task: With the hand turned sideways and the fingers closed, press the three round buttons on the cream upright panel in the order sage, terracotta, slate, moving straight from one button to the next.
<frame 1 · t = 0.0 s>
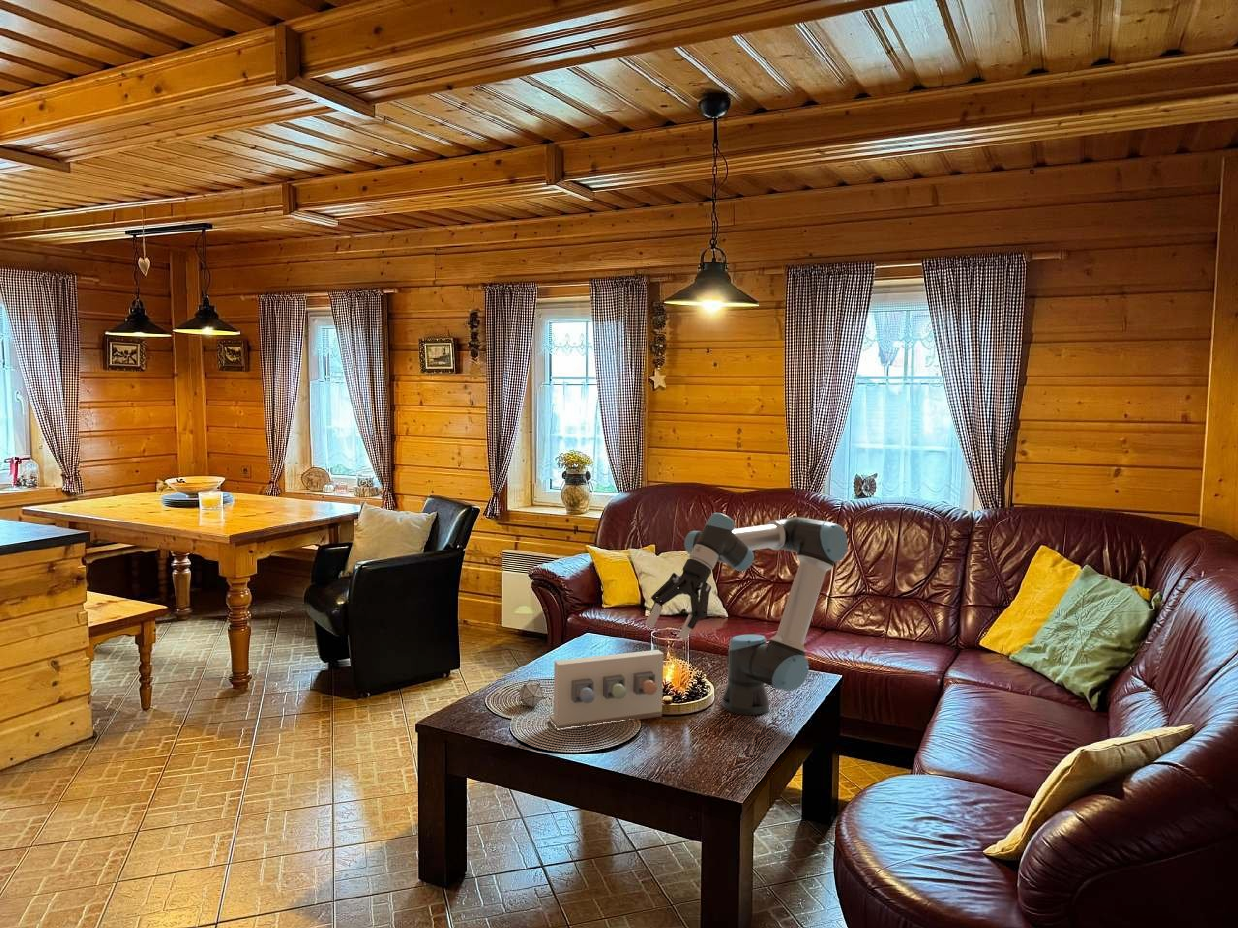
hand: (664, 632, 226), 36 cm above the table, tool tilted 35°, fingers open, 13 cm apart
slate button: (586, 695, 244), point 12 cm above the table, slide at 0.0 cm
sage button: (618, 691, 247), point 12 cm above the table, slide at 0.0 cm
button panel: (608, 720, 255), on the table
terracotta button: (649, 687, 251), point 12 cm above the table, slide at 0.0 cm
game die: (530, 706, 266), on the table
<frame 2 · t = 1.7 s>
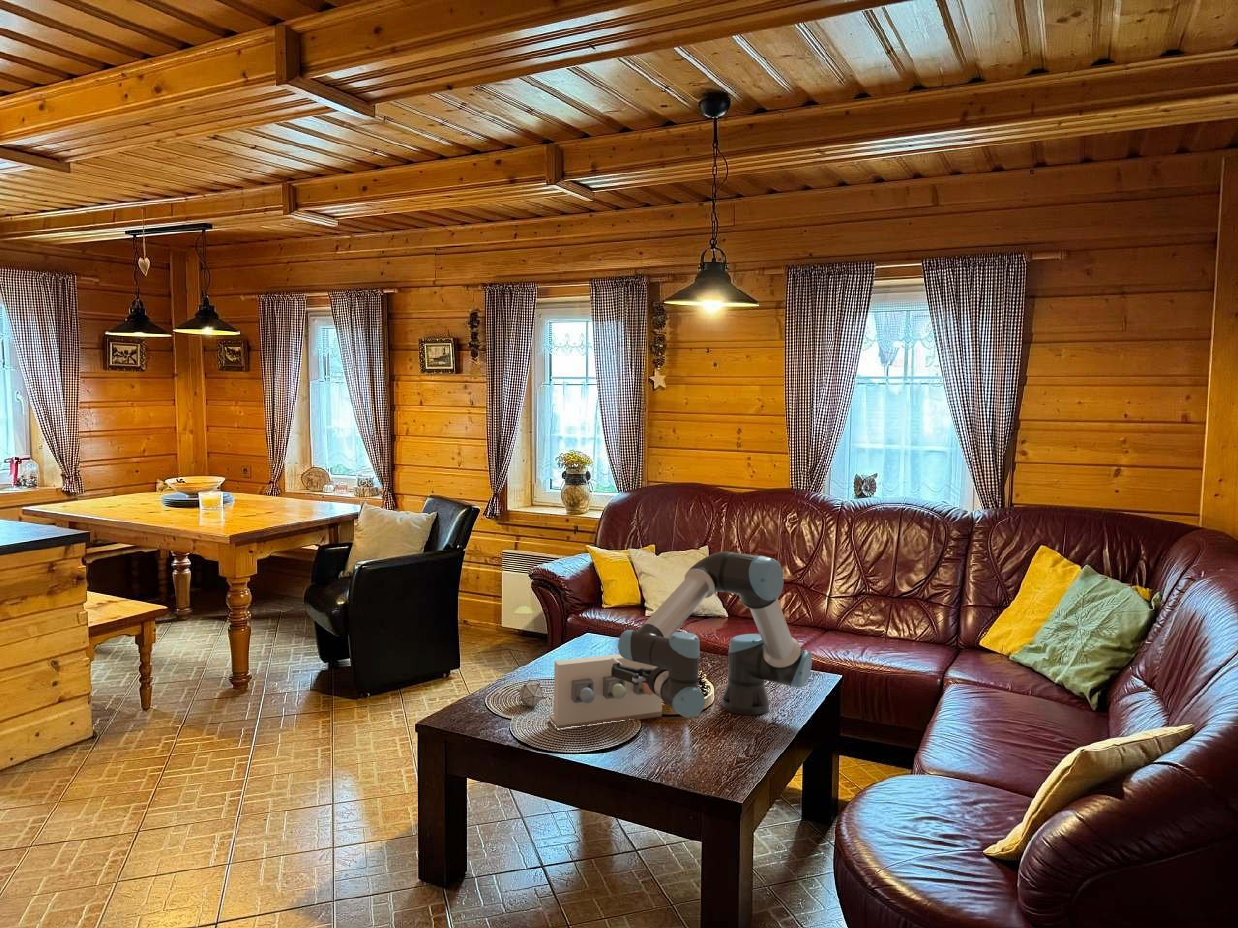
hand: (634, 660, 236), 25 cm above the table, tool horizontal, fingers open, 13 cm apart
nothing on the table moved.
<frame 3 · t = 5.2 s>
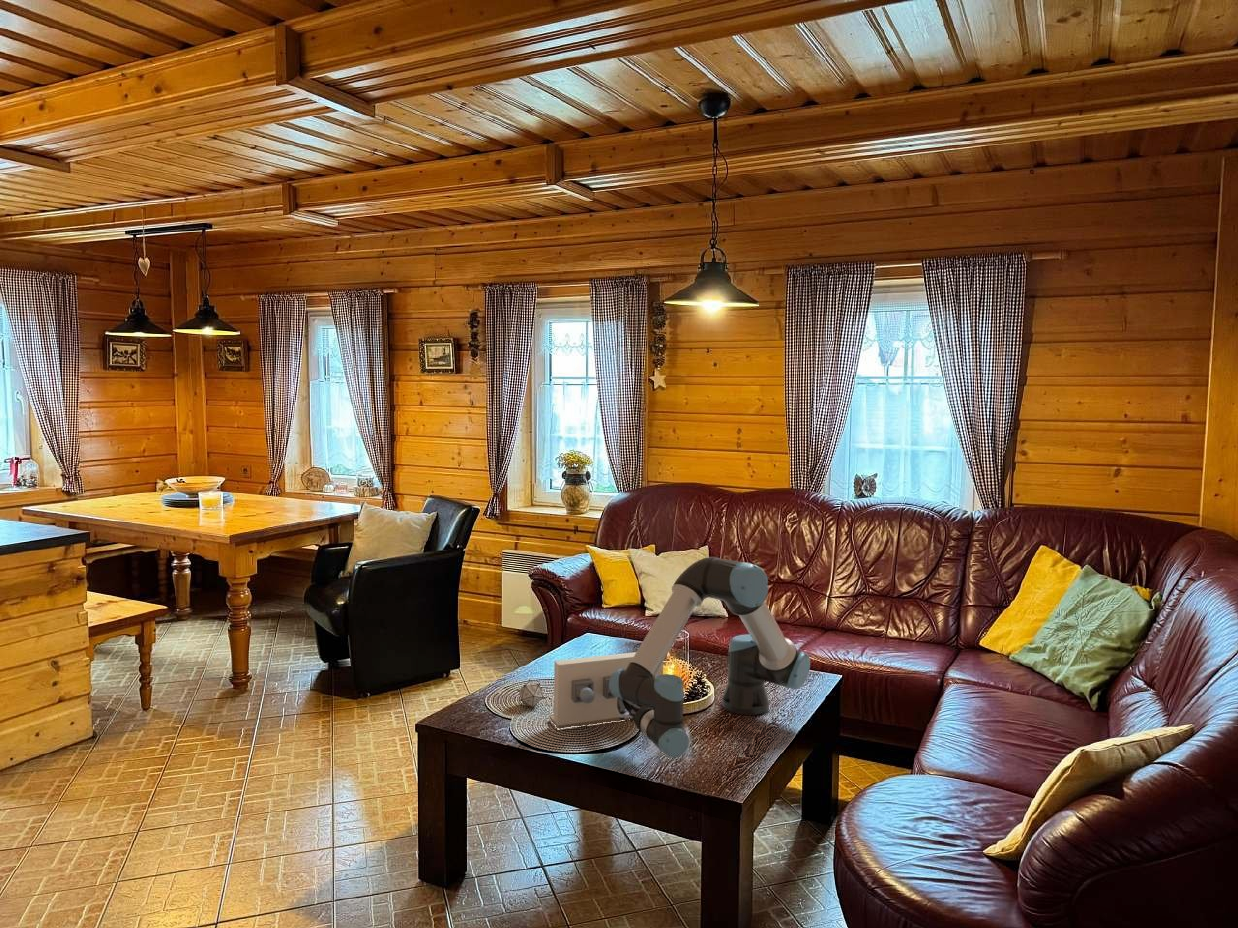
hand: (618, 692, 247), 12 cm above the table, tool horizontal, fingers closed
sage button: (617, 690, 248), point 12 cm above the table, slide at 0.7 cm, touching gripper
everything else where it was.
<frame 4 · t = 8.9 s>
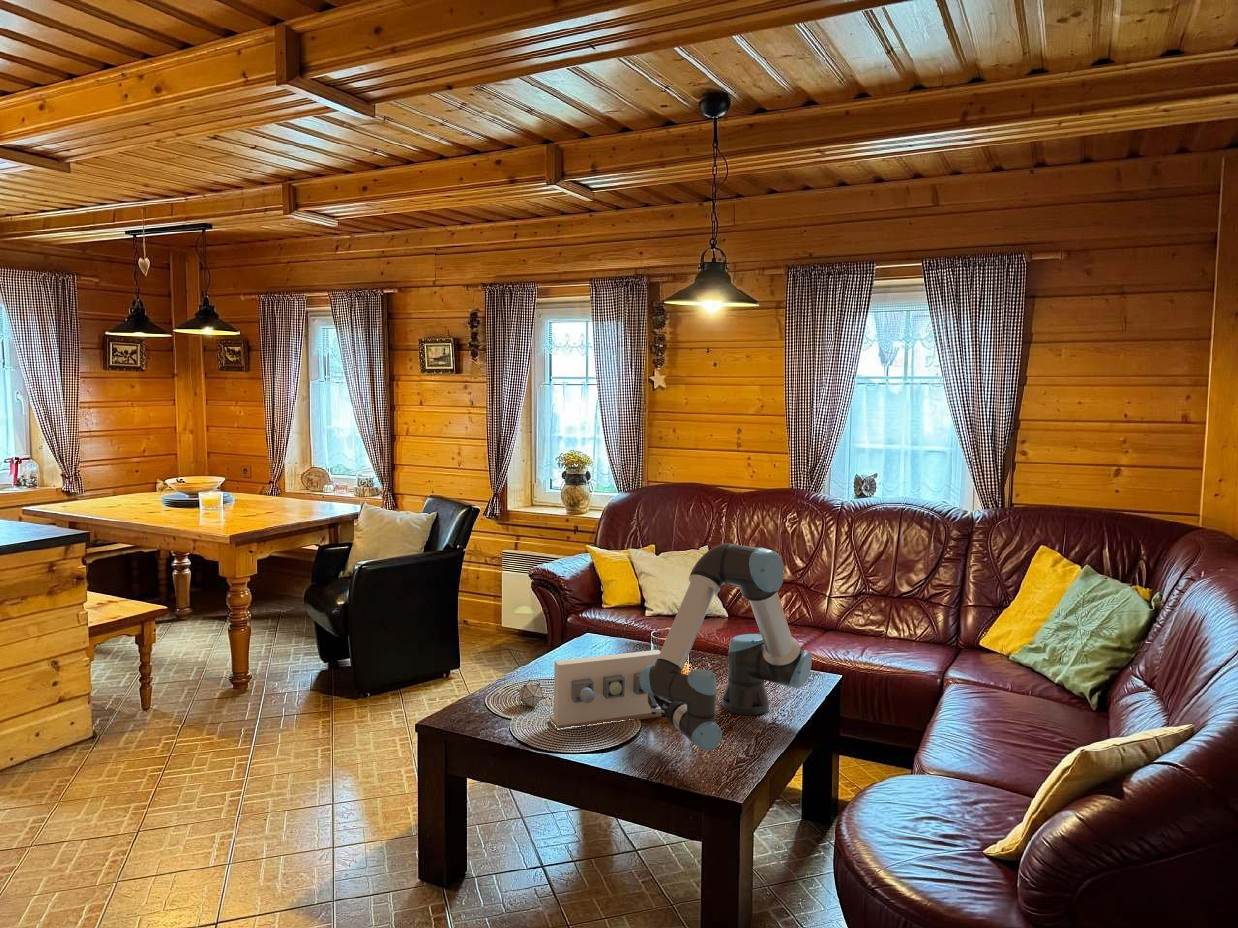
hand: (648, 687, 251), 12 cm above the table, tool horizontal, fingers closed
sage button: (614, 687, 250), point 12 cm above the table, slide at 3.3 cm
terracotta button: (647, 685, 252), point 12 cm above the table, slide at 1.5 cm, touching gripper
everything else where it was.
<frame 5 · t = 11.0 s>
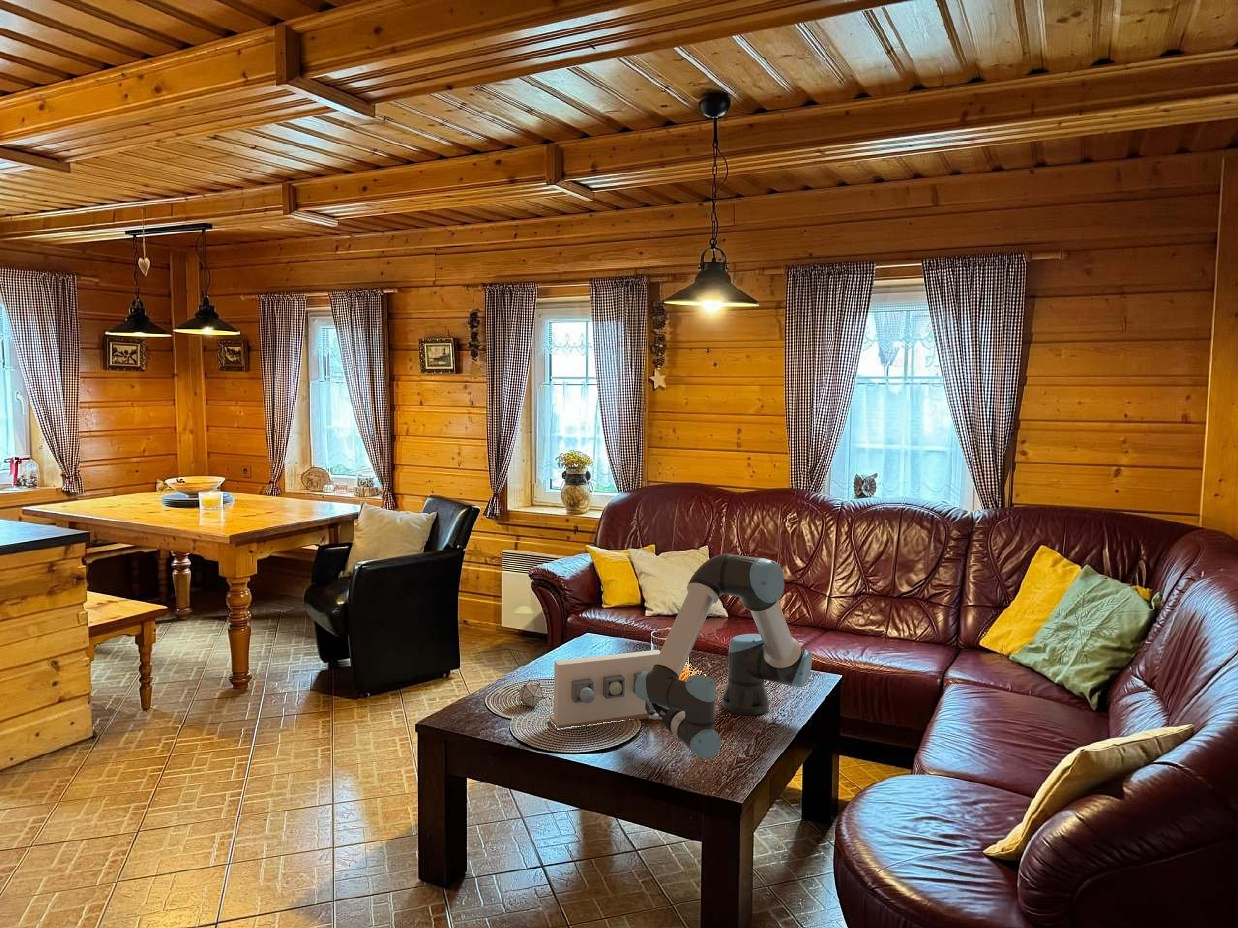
hand: (646, 693, 245), 12 cm above the table, tool horizontal, fingers closed
terracotta button: (645, 683, 254), point 12 cm above the table, slide at 3.4 cm
everything else where it was.
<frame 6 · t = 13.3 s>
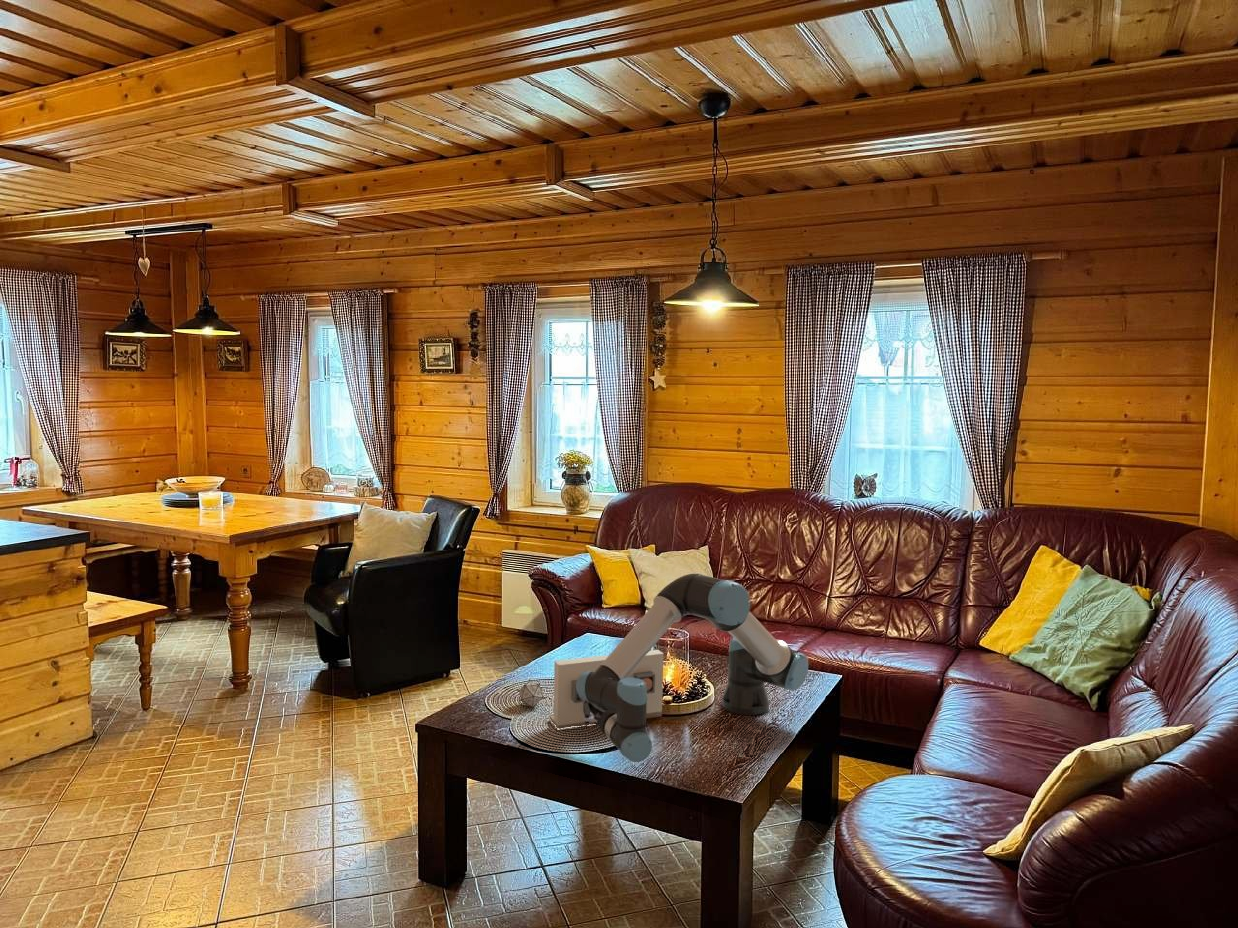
hand: (586, 695, 244), 12 cm above the table, tool horizontal, fingers closed
slate button: (585, 693, 245), point 12 cm above the table, slide at 1.4 cm, touching gripper
everything else where it was.
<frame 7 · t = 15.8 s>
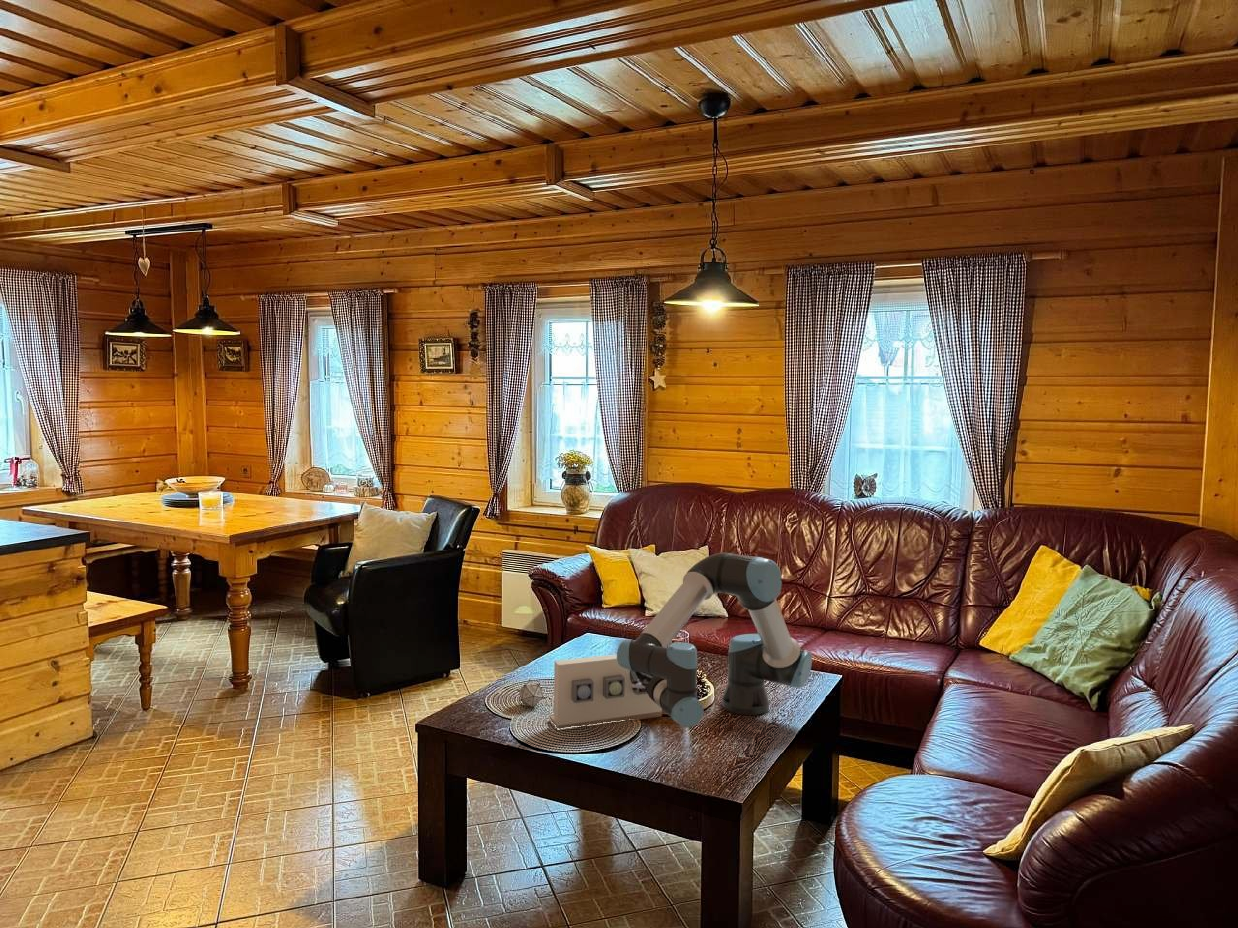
hand: (631, 663, 240), 23 cm above the table, tool horizontal, fingers closed
slate button: (583, 691, 247), point 12 cm above the table, slide at 3.3 cm
everything else where it was.
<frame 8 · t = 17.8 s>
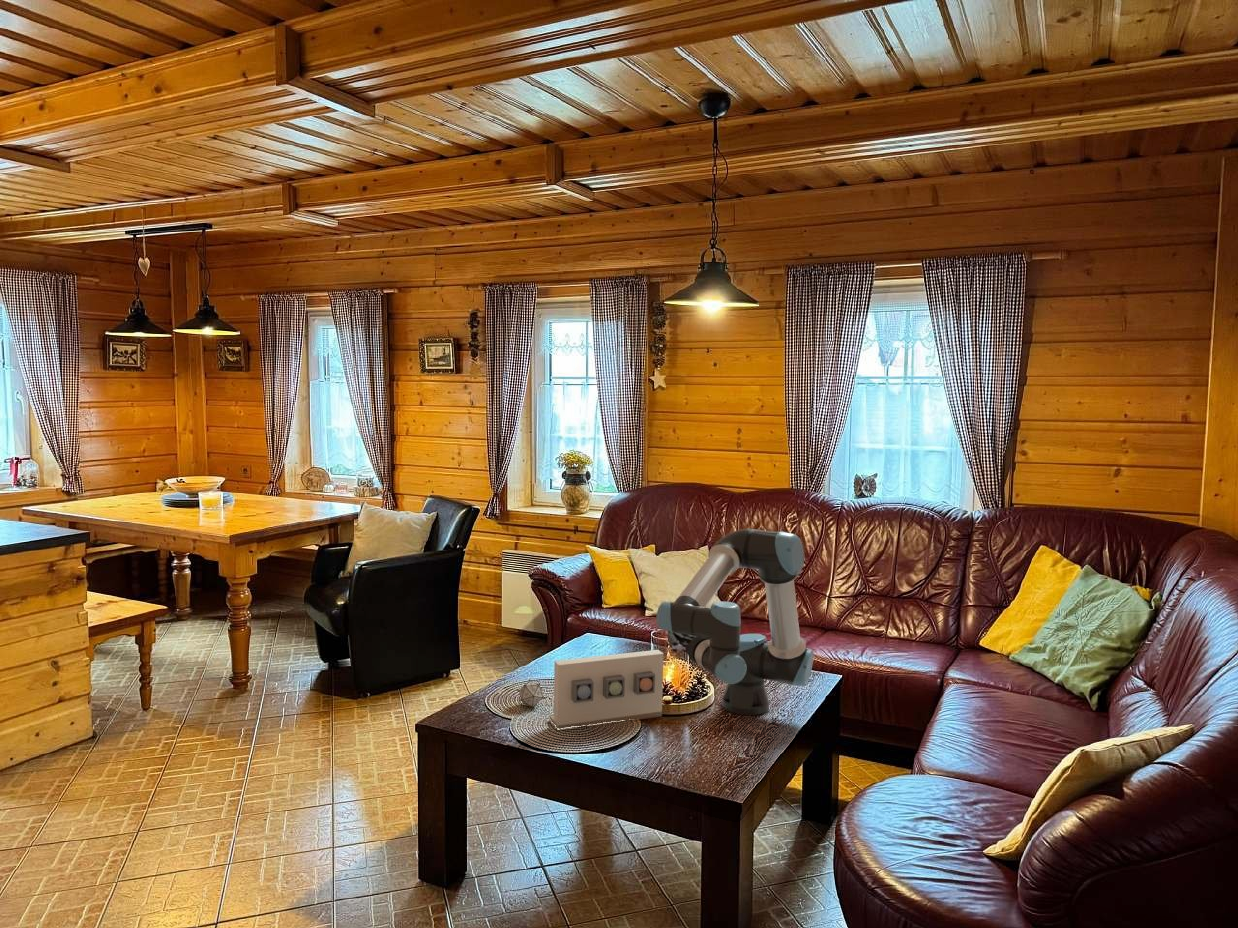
hand: (668, 628, 243), 32 cm above the table, tool horizontal, fingers closed
nothing on the table moved.
at the end: sage button slide at 3.3 cm; terracotta button slide at 3.4 cm; slate button slide at 3.3 cm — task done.
